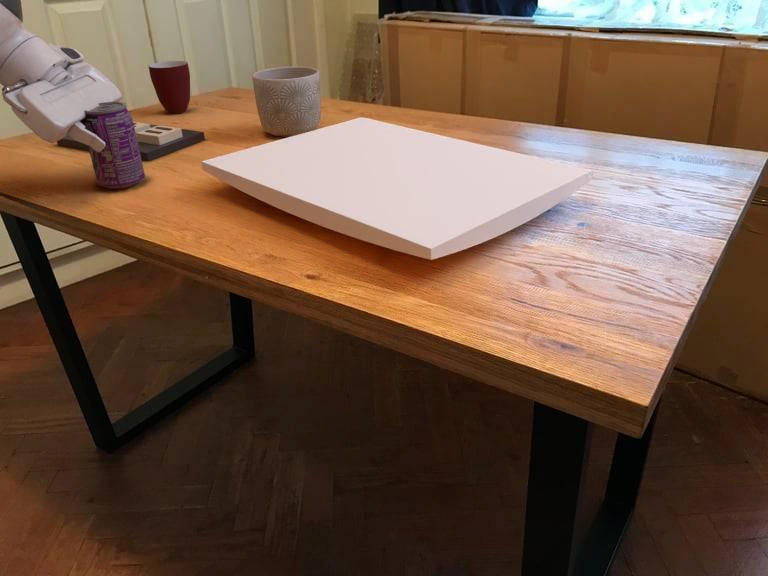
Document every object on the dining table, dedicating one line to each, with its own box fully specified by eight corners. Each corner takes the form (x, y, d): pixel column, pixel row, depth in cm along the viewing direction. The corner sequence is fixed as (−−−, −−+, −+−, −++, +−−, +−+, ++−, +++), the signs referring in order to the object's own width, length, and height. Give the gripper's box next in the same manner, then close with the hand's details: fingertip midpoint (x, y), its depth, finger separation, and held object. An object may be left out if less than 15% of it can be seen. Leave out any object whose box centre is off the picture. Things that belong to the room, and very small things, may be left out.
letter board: (57, 145, 124) (52, 128, 122) (117, 126, 134) (113, 110, 133) (148, 161, 113) (144, 142, 112) (205, 139, 124) (202, 122, 122)
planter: (272, 122, 133) (266, 66, 128) (331, 123, 131) (327, 66, 125) (249, 139, 123) (241, 79, 117) (313, 141, 120) (307, 80, 115)
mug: (161, 106, 149) (152, 60, 144) (198, 103, 150) (190, 57, 145) (155, 117, 140) (145, 69, 135) (194, 114, 141) (186, 66, 136)
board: (589, 203, 90) (593, 170, 87) (431, 288, 70) (431, 248, 68) (363, 143, 118) (361, 117, 116) (206, 191, 99) (201, 161, 96)
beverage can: (105, 177, 106) (86, 102, 100) (150, 174, 107) (134, 99, 101) (92, 193, 100) (71, 114, 94) (140, 190, 101) (122, 111, 95)
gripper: (4, 72, 86) (94, 145, 90) (81, 46, 104) (153, 108, 108) (-16, 107, 89) (72, 177, 92) (62, 76, 106) (133, 135, 110)
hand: (116, 139), depth 100 cm, fingers closed on beverage can, 6 cm apart
